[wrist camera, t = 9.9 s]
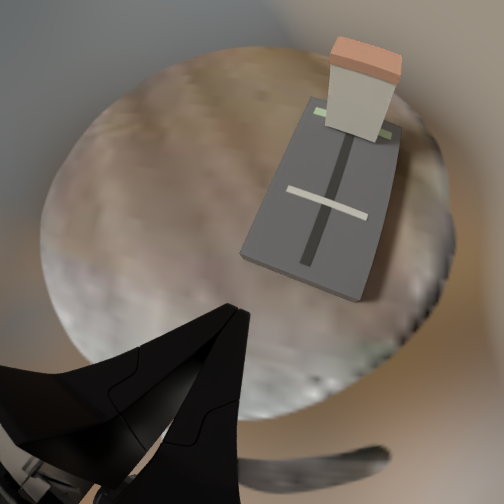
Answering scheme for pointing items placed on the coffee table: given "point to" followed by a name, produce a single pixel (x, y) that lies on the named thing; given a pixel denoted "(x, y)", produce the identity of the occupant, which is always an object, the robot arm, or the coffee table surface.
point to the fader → (360, 87)
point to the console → (326, 205)
